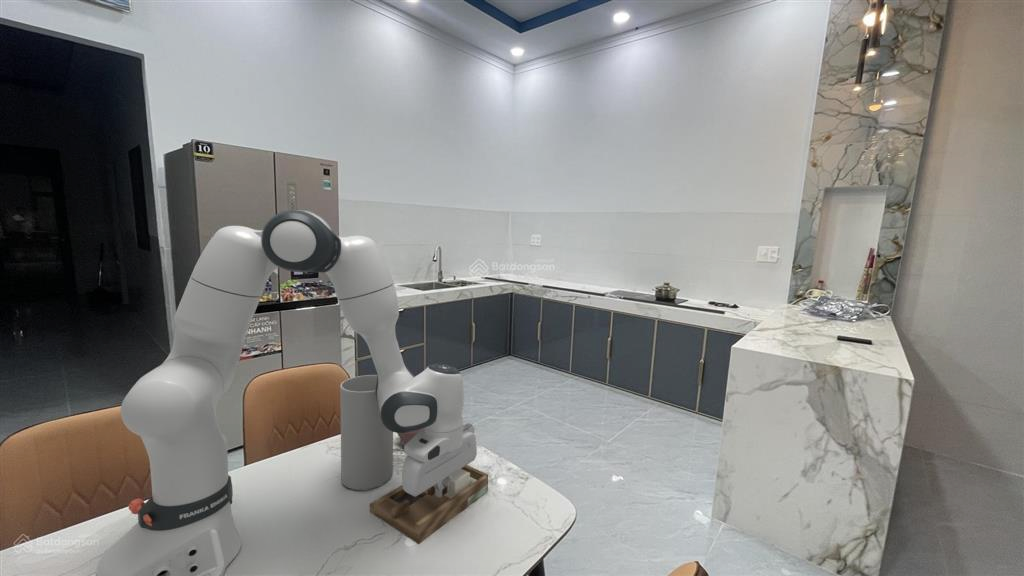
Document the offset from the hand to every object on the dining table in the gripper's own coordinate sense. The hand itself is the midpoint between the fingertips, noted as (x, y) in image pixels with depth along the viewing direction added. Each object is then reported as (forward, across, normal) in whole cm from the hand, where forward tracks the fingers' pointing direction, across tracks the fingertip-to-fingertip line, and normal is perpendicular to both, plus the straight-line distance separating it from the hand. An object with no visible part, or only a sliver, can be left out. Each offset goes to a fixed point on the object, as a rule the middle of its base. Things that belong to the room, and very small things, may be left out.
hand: (442, 493), depth 93 cm
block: (+2, -4, 0) cm, 5 cm away
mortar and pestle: (+4, -17, -28) cm, 33 cm away
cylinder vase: (+4, +3, -24) cm, 24 cm away
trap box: (+4, -1, -4) cm, 6 cm away
